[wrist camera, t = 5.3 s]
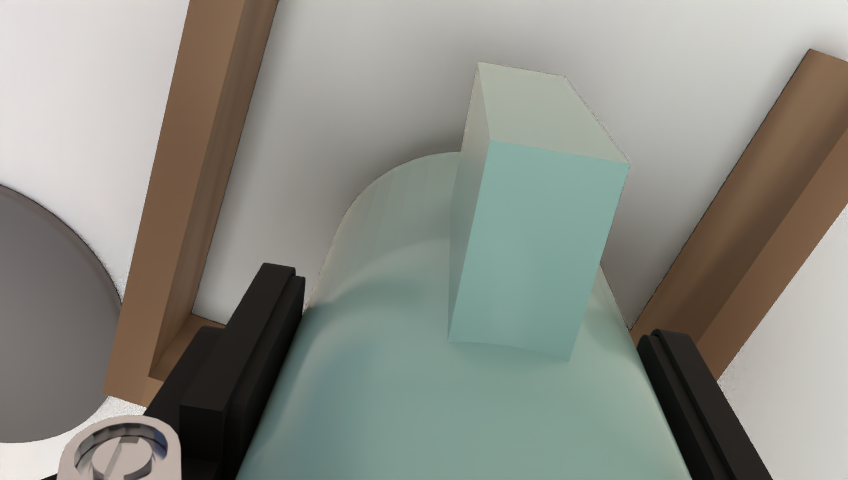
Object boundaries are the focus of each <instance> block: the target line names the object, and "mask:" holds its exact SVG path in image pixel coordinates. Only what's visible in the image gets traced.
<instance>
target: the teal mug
mask: <svg viewBox="0 0 848 480" xmlns="http://www.w3.org/2000/svg"><path fill="white" fill-rule="evenodd" d="M629 167H630V163H629V161H628V160H627V159H626V157H625V156H624V155H623V153H622V152H621V151H620V149H619V148H618V147H617V145H616V144H615V143H614V141H613V140H612V139H611V137H610V136H609V135H608V133H607V132H606V131H605V129H604V128H603V127H602V125H601V124H600V123H599V121H598V120H597V119H596V117H595V116H594V115H593V113H592V112H591V111H590V109H589V108H588V107H587V105H586V104H585V103H584V101H583V100H582V99H581V97H580V96H579V95H578V93H577V92H576V91H575V89H574V88H573V87H572V85H571V84H570V83H569V81H568V80H567V79H566V77H565V76H559V75H554V74H548V73H542V72H536V71H531V70H525V69H519V68H513V67H508V66H502V65H496V64H490V63H485V62H479V61H478V63H477V68H476V74H475V79H474V84H473V89H472V94H471V99H470V105H469V110H468V115H467V120H466V125H465V131H464V136H463V141H462V146H461V151H460V152H445V153H438V154H431V155H427V156H424V157H420V158H417V159H413V160H411V161H408V162H406V163H403V164H401V165H399V166H396V167H395V168H393V169H391V170H390V171H388V172H386V173H385V174H383V175H381V176H380V177H379V178H377V179H376V180H375V181H373V182H372V183H371V184H370V185H368V186H367V187H366V188H365V189H364V190H363V191H362V192H361V193H360V194H359V196H358V197H357V198H356V199H355V200H354V202H353V203H352V204H351V206H350V207H349V208H348V210H347V211H346V213H345V215H344V217H343V219H342V221H341V223H340V224H339V227H338V229H337V231H336V234H335V236H334V239H333V241H332V244H331V246H330V249H329V251H328V253H327V256H326V258H325V261H324V263H323V266H322V268H321V271H320V273H319V276H318V278H317V280H316V283H315V285H314V288H313V290H312V293H311V295H310V298H309V300H308V303H307V305H306V307H305V310H304V312H303V315H302V317H301V320H300V322H299V325H298V327H297V329H296V332H295V334H294V337H293V339H292V342H291V344H290V347H289V349H288V352H287V354H286V356H285V359H284V361H283V364H282V366H281V369H280V371H279V374H278V376H277V378H276V381H275V383H274V386H273V388H272V391H271V393H270V396H269V398H268V401H267V403H266V405H265V408H264V410H263V413H262V415H261V418H260V420H259V423H258V425H257V428H256V430H255V432H254V435H253V437H252V440H251V442H250V445H249V447H248V450H247V452H246V454H245V457H244V459H243V462H242V464H241V467H240V469H239V472H238V474H237V477H236V479H235V480H692V478H691V476H690V474H689V471H688V469H687V467H686V464H685V462H684V460H683V457H682V455H681V453H680V450H679V448H678V446H677V443H676V441H675V439H674V436H673V434H672V432H671V429H670V427H669V425H668V422H667V420H666V418H665V415H664V413H663V411H662V408H661V406H660V404H659V401H658V399H657V397H656V394H655V392H654V390H653V387H652V385H651V383H650V380H649V378H648V376H647V373H646V371H645V369H644V366H643V364H642V362H641V359H640V357H639V355H638V352H637V350H636V348H635V345H634V343H633V341H632V338H631V336H630V334H629V331H628V329H627V327H626V324H625V322H624V320H623V317H622V315H621V313H620V310H619V308H618V306H617V303H616V301H615V299H614V296H613V294H612V292H611V289H610V287H609V285H608V282H607V280H606V278H605V275H604V273H603V271H602V268H601V266H600V260H601V257H602V254H603V251H604V247H605V244H606V241H607V238H608V234H609V231H610V228H611V225H612V222H613V218H614V215H615V212H616V209H617V205H618V202H619V199H620V196H621V192H622V189H623V186H624V183H625V179H626V176H627V173H628V170H629Z"/></svg>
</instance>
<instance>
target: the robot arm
mask: <svg viewBox="0 0 848 480" xmlns="http://www.w3.org/2000/svg"><path fill="white" fill-rule="evenodd" d="M304 292H305V277H300V276H296V270H295V268H294V267H288V266H282V265H276V264H270V263H263V265H262V266H261V268H260V269H259V271H258V273H257V275H256V276H255V278H254V280H253V281H252V283H251V285H250V286H249V288H248V290H247V291H246V293H245V295H244V296H243V298H242V300H241V302H240V303H239V305H238V307H237V308H236V310H235V312H234V313H233V315H232V317H231V318H230V320H229V322H228V324H227V325H226V327H225V328H219V327H213V326H207V325H204V326H202V327H201V328H200V329H199V330H198V331H197V333H196V334H195V336H194V337H193V339H192V341H191V342H190V344H189V345H188V347H187V348H186V350H185V351H184V353H183V354H182V356H181V357H180V359H179V360H178V362H177V363H176V365H175V366H174V368H173V369H172V371H171V373H170V374H169V376H168V377H167V379H166V380H165V382H164V383H163V385H162V386H161V388H160V389H159V391H158V392H157V394H156V395H155V397H154V398H153V400H152V402H151V403H150V405H149V406H148V408H147V409H146V411H145V412H144V414H143V415H124V416H118V417H113V418H107V419H105V420H102V421H99V422H97V423H94V424H92V425H90V426H88V427H87V428H85V429H84V430H82V431H80V432H79V433H77V434H76V435H75V436H74V437H73V438H72V439H71V441H70V442H69V443H68V444H67V445H66V446H65V449H64V451H63V453H62V456H61V458H60V463H59V469H58V473H57V474H55V475H52V476H49V477H47V478H44V479H41V480H235V479H236V477H237V474H238V472H239V469H240V467H241V464H242V462H243V459H244V457H245V454H246V452H247V450H248V447H249V445H250V442H251V440H252V437H253V435H254V432H255V430H256V428H257V425H258V423H259V420H260V418H261V415H262V413H263V410H264V408H265V405H266V403H267V401H268V398H269V396H270V393H271V391H272V388H273V386H274V383H275V381H276V378H277V376H278V374H279V371H280V369H281V366H282V364H283V361H284V359H285V356H286V354H287V352H288V349H289V347H290V344H291V342H292V339H293V337H294V334H295V332H296V329H297V327H298V325H299V322H300V320H301V317H302V311H303V302H304ZM636 350H637V352H638V355H639V357H640V359H641V362H642V364H643V366H644V369H645V371H646V373H647V376H648V378H649V380H650V383H651V385H652V387H653V390H654V392H655V394H656V397H657V399H658V401H659V404H660V406H661V408H662V411H663V413H664V415H665V418H666V420H667V422H668V425H669V427H670V429H671V432H672V434H673V436H674V439H675V441H676V443H677V446H678V448H679V450H680V453H681V455H682V457H683V460H684V462H685V464H686V467H687V469H688V471H689V474H690V476H691V478H692V480H773V479H772V477H771V475H770V474H769V472H768V470H767V469H766V467H765V465H764V463H763V462H762V460H761V458H760V456H759V455H758V453H757V451H756V449H755V448H754V446H753V444H752V443H751V441H750V439H749V437H748V436H747V434H746V432H745V430H744V429H743V427H742V425H741V424H740V422H739V420H738V418H737V417H736V415H735V413H734V411H733V410H732V408H731V406H730V404H729V403H728V401H727V399H726V398H725V396H724V394H723V392H722V391H721V389H720V387H719V385H718V384H717V382H716V380H715V379H714V377H713V375H712V373H711V372H710V370H709V368H708V366H707V365H706V363H705V361H704V360H703V358H702V356H701V354H700V353H699V351H698V349H697V347H696V346H695V344H694V342H693V340H692V339H691V337H690V336H689V335H688V334H685V333H680V332H674V331H668V330H662V329H655V330H653V331H652V333H651V334H650V335H645V334H644V335H642V337H641V338H640V340H639V342H638V345H637V348H636Z"/></svg>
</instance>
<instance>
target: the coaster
mask: <svg viewBox="0 0 848 480" xmlns="http://www.w3.org/2000/svg"><path fill="white" fill-rule="evenodd" d="M121 307H122V305H121V302H120V299H119V296H118V294H117V292H116V289H115V287H114V285H113V283H112V281H111V279H110V277H109V276H108V274H107V273H106V271H105V269H104V268H103V266H102V265H101V263H100V262H99V260H98V259H97V258H96V256H95V255H94V254H93V253H92V251H91V250H90V249H89V248H88V246H87V245H86V244H85V243H84V242H83V241H82V240H81V239H80V238H79V237H78V236H77V235H76V234H75V233H74V232H73V231H72V230H71V229H70V228H69V227H67V226H66V225H65V224H64V223H63V222H61V221H60V220H59V219H58V218H57V217H55V216H54V215H53V214H51V213H50V212H48V211H47V210H46V209H44V208H43V207H41V206H40V205H38V204H37V203H35V202H34V201H32V200H30V199H28V198H26V197H24V196H22V195H21V194H19V193H17V192H15V191H13V190H11V189H8V188H6V187H3V186H1V185H0V443H24V442H32V441H39V440H44V439H48V438H51V437H55V436H58V435H60V434H63V433H65V432H67V431H70V430H72V429H74V428H75V427H77V426H78V425H80V424H82V423H83V422H85V421H86V420H87V419H88V418H89V417H91V416H92V415H93V414H94V413H95V412H96V411H97V410H98V408H99V407H100V406H101V405H102V403H103V402H104V401H105V400H106V398H107V397H108V396H109V395H106V394H103V393H102V392H103V388H104V383H105V379H106V374H107V370H108V365H109V361H110V356H111V352H112V348H113V343H114V339H115V334H116V330H117V325H118V321H119V316H120V312H121Z"/></svg>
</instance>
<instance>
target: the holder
mask: <svg viewBox="0 0 848 480" xmlns="http://www.w3.org/2000/svg"><path fill="white" fill-rule="evenodd" d="M277 3H278V0H190V2H189V6H188V11H187V15H186V20H185V24H184V29H183V33H182V38H181V42H180V47H179V51H178V56H177V60H176V65H175V69H174V74H173V78H172V83H171V87H170V92H169V96H168V101H167V105H166V110H165V114H164V119H163V123H162V128H161V132H160V137H159V141H158V146H157V150H156V155H155V159H154V164H153V168H152V172H151V177H150V181H149V186H148V190H147V195H146V199H145V204H144V208H143V213H142V217H141V222H140V226H139V231H138V235H137V240H136V244H135V249H134V253H133V258H132V262H131V267H130V271H129V276H128V280H127V285H126V289H125V294H124V298H123V303H122V307H121V312H120V316H119V321H118V325H117V330H116V334H115V339H114V343H113V348H112V352H111V356H110V361H109V365H108V370H107V374H106V379H105V383H104V388H103V392H102V393H103V394H106V395H110V396H113V397H116V398H119V399H122V400H125V401H128V402H131V403H134V404H137V405H140V406H143V407H146V408H148V406H149V405H150V403H151V402H152V400H153V398H154V397H155V395H156V394H157V392H158V391H159V389H160V388H161V386H162V385H163V383H164V382H165V380H166V379H167V377H168V376H169V374H170V373H171V371H172V369H173V368H174V366H175V365H176V363H177V362H178V360H179V359H180V357H181V356H182V354H183V353H184V351H185V350H186V348H187V347H188V345H189V344H190V342H191V341H192V339H193V337H194V336H195V334H196V333H197V331H198V330H199V329H200V328H201V327H202V326H204V325H207V326H213V327H219V328H225V327H226V326H224V325H221V324H218V323H215V322H213V321H210V320H207V319H204V318H201V317H198V316H195V315H192V314H191V311H192V308H193V304H194V301H195V297H196V293H197V290H198V286H199V283H200V279H201V276H202V272H203V268H204V265H205V261H206V258H207V254H208V250H209V247H210V243H211V240H212V236H213V232H214V229H215V225H216V222H217V218H218V215H219V211H220V207H221V204H222V200H223V197H224V193H225V189H226V186H227V182H228V179H229V175H230V172H231V168H232V164H233V161H234V157H235V154H236V150H237V146H238V143H239V139H240V136H241V132H242V129H243V125H244V121H245V118H246V114H247V111H248V107H249V103H250V100H251V96H252V93H253V89H254V86H255V82H256V78H257V75H258V71H259V68H260V64H261V60H262V57H263V53H264V50H265V46H266V42H267V39H268V35H269V32H270V28H271V25H272V21H273V17H274V14H275V10H276V7H277ZM847 203H848V62H846V61H843V60H841V59H838V58H835V57H832V56H829V55H826V54H823V53H820V52H818V51H815V50H812V49H809V51H808V53H807V54H806V56H805V57H804V59H803V60H802V62H801V64H800V65H799V67H798V68H797V70H796V71H795V73H794V75H793V76H792V78H791V79H790V81H789V82H788V84H787V86H786V87H785V89H784V90H783V92H782V93H781V95H780V97H779V98H778V100H777V101H776V103H775V104H774V106H773V108H772V109H771V111H770V112H769V114H768V115H767V117H766V119H765V120H764V122H763V123H762V125H761V126H760V128H759V130H758V131H757V133H756V134H755V136H754V137H753V139H752V141H751V142H750V144H749V145H748V147H747V148H746V150H745V152H744V153H743V155H742V156H741V158H740V159H739V161H738V163H737V164H736V166H735V167H734V169H733V170H732V172H731V174H730V175H729V177H728V178H727V180H726V181H725V183H724V185H723V186H722V188H721V189H720V191H719V192H718V194H717V196H716V197H715V199H714V200H713V202H712V203H711V205H710V207H709V208H708V210H707V211H706V213H705V214H704V216H703V218H702V219H701V221H700V222H699V224H698V225H697V227H696V229H695V230H694V232H693V233H692V235H691V236H690V238H689V240H688V241H687V243H686V244H685V246H684V247H683V249H682V251H681V252H680V254H679V255H678V257H677V258H676V260H675V262H674V263H673V265H672V266H671V268H670V269H669V271H668V273H667V274H666V276H665V277H664V279H663V280H662V282H661V284H660V285H659V287H658V288H657V290H656V291H655V293H654V295H653V296H652V298H651V299H650V301H649V302H648V304H647V306H646V307H645V309H644V310H643V312H642V313H641V315H640V317H639V318H638V320H637V321H636V323H635V324H634V326H633V328H632V329H631V331H630V332H629V334H630V336H631V338H632V341H633V343H634V345H635V348H637V345H638V342H639V340H640V338H641V337H642V335H644V334H645V335H650V334H651V333H652V331H653V330H655V329H662V330H668V331H674V332H680V333H685V334H688V335H689V336H690V337H691V339H692V340H693V342H694V344H695V346H696V347H697V349H698V351H699V353H700V354H701V356H702V358H703V360H704V361H705V363H706V365H707V366H708V368H709V370H710V372H711V373H712V375H713V377H714V379H715V380H716V381H717V380H718V379H719V377H720V376H721V375H722V373H723V372H724V371H725V369H726V368H727V366H728V365H729V364H730V362H731V361H732V360H733V358H734V357H735V356H736V354H737V353H738V352H739V350H740V349H741V347H742V346H743V345H744V343H745V342H746V341H747V339H748V338H749V337H750V335H751V334H752V332H753V331H754V330H755V328H756V327H757V326H758V324H759V323H760V322H761V320H762V319H763V318H764V316H765V315H766V313H767V312H768V311H769V309H770V308H771V307H772V305H773V304H774V303H775V301H776V300H777V298H778V297H779V296H780V294H781V293H782V292H783V290H784V289H785V288H786V286H787V285H788V284H789V282H790V281H791V279H792V278H793V277H794V275H795V274H796V273H797V271H798V270H799V269H800V267H801V266H802V264H803V263H804V262H805V260H806V259H807V258H808V256H809V255H810V254H811V252H812V251H813V250H814V248H815V247H816V245H817V244H818V243H819V241H820V240H821V239H822V237H823V236H824V235H825V233H826V232H827V230H828V229H829V228H830V226H831V225H832V224H833V222H834V221H835V220H836V218H837V217H838V216H839V214H840V213H841V211H842V210H843V209H844V207H845V206H846V205H847Z"/></svg>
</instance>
